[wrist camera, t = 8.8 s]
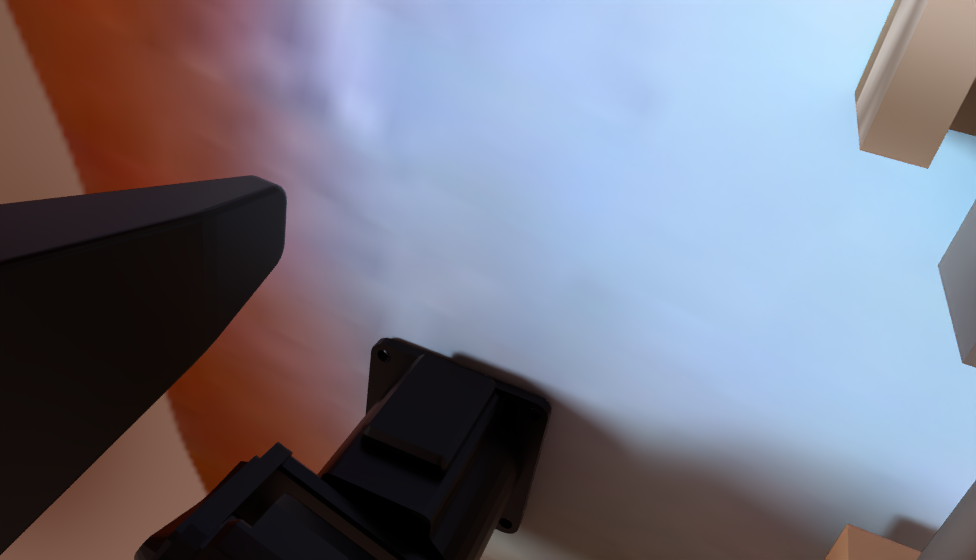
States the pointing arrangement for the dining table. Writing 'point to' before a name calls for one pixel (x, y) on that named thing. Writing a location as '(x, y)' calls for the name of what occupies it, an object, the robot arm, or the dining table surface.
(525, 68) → the dining table surface
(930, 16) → the tray
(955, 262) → the tethered block
